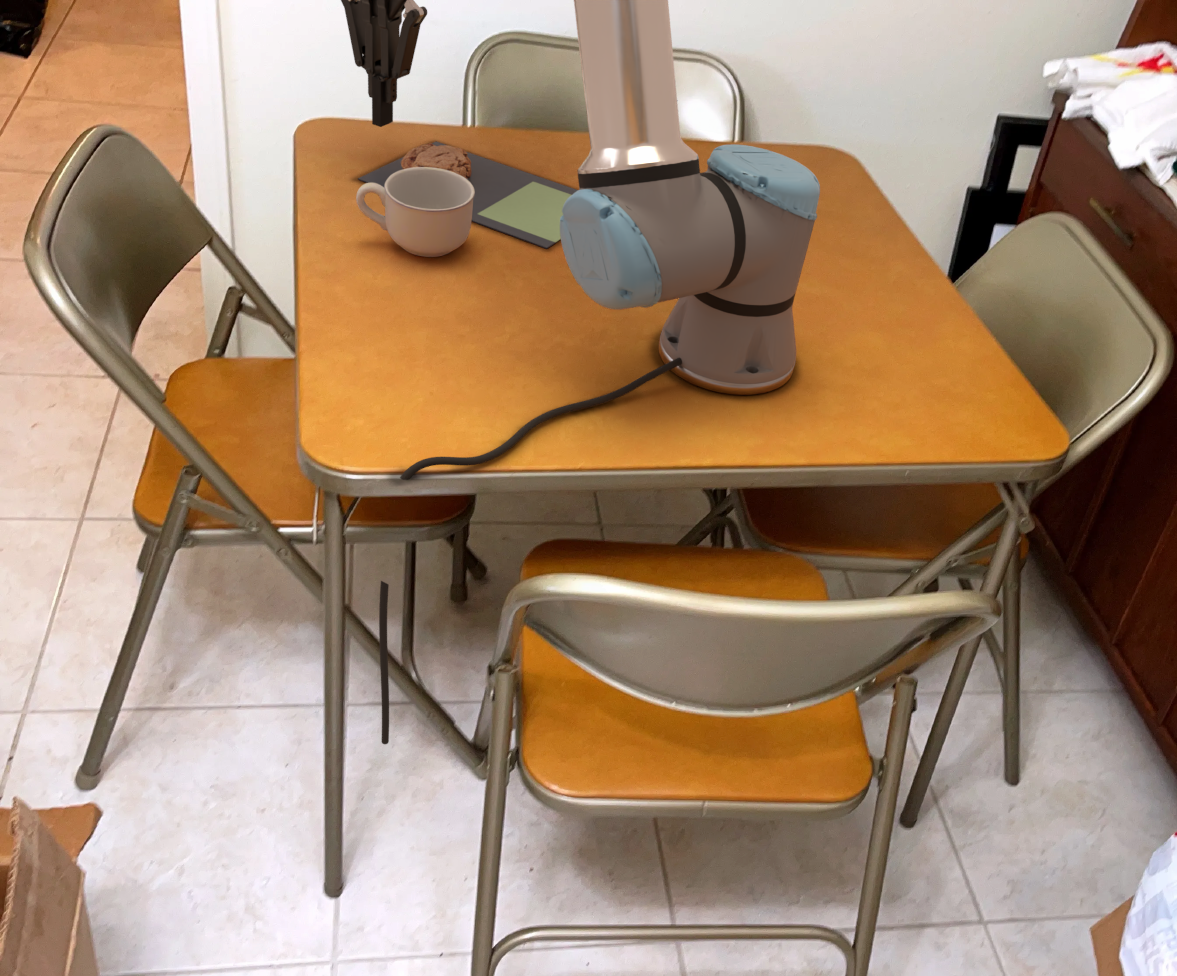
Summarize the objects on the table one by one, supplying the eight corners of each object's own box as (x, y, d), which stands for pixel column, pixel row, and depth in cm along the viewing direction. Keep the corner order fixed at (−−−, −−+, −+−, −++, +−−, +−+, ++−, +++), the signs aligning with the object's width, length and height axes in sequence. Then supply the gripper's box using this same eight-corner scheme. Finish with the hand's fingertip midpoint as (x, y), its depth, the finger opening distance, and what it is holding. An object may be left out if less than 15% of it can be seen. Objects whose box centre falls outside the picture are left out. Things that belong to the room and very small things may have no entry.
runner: (546, 249, 142) (547, 247, 142) (357, 179, 152) (357, 178, 152) (614, 204, 155) (614, 202, 155) (436, 142, 164) (436, 141, 164)
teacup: (479, 233, 143) (482, 174, 138) (462, 273, 135) (465, 210, 130) (371, 217, 143) (370, 157, 138) (348, 255, 135) (346, 193, 130)
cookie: (426, 194, 150) (427, 173, 148) (388, 164, 156) (388, 143, 154) (490, 183, 155) (491, 162, 153) (450, 154, 161) (451, 133, 159)
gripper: (441, -53, 142) (436, 129, 157) (359, -76, 146) (362, 103, 161) (406, -43, 137) (404, 144, 151) (321, -67, 141) (327, 117, 156)
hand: (382, 123), depth 156 cm, fingers closed
